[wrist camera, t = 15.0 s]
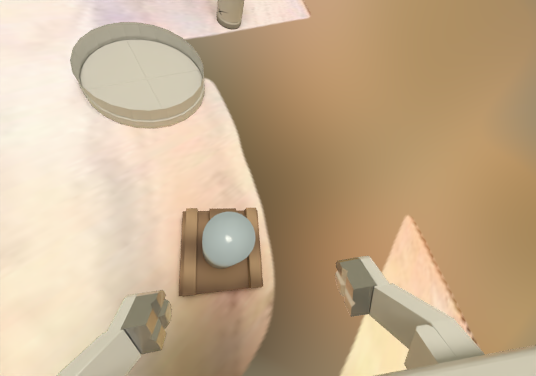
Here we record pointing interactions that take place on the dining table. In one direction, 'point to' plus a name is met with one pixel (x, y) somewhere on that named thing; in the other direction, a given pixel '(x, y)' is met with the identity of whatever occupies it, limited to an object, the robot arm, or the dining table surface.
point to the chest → (205, 276)
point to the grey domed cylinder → (227, 239)
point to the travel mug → (230, 13)
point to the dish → (139, 74)
